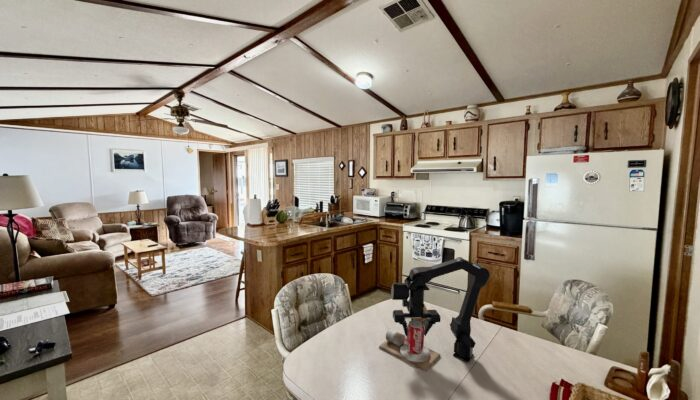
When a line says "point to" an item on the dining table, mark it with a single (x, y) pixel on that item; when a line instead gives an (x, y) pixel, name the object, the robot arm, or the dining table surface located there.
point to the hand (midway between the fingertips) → (415, 335)
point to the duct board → (399, 349)
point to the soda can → (415, 337)
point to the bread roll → (421, 318)
